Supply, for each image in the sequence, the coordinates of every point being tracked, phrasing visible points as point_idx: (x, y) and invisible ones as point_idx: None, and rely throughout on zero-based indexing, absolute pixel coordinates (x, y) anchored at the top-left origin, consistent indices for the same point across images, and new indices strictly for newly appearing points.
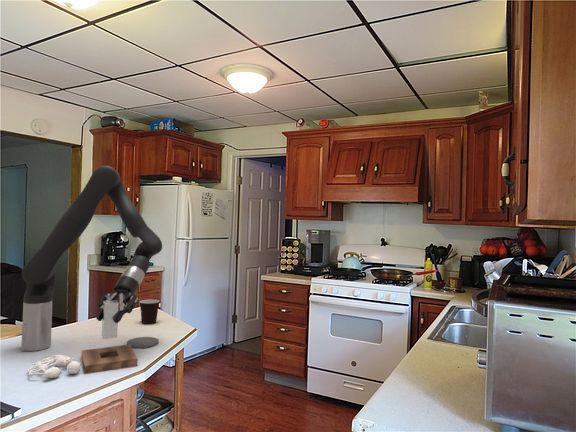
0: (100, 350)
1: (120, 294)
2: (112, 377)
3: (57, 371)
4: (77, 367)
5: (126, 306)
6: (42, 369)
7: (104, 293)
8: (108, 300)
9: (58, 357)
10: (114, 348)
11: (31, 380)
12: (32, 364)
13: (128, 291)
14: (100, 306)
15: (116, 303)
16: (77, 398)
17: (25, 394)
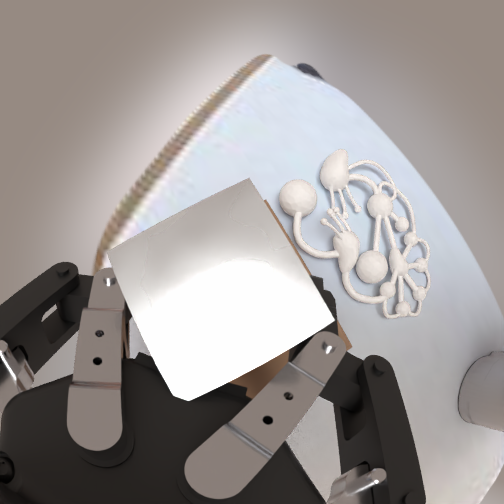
0: (283, 355)
1: (105, 432)
2: (172, 191)
3: (323, 167)
4: (282, 188)
5: (61, 285)
6: (368, 178)
7: (408, 496)
8: (289, 387)
9: (383, 258)
10: (238, 384)
11: (369, 169)
12: (425, 243)
13: (17, 474)
14: (356, 367)
15: (129, 242)
16: (214, 95)
17: (328, 109)
